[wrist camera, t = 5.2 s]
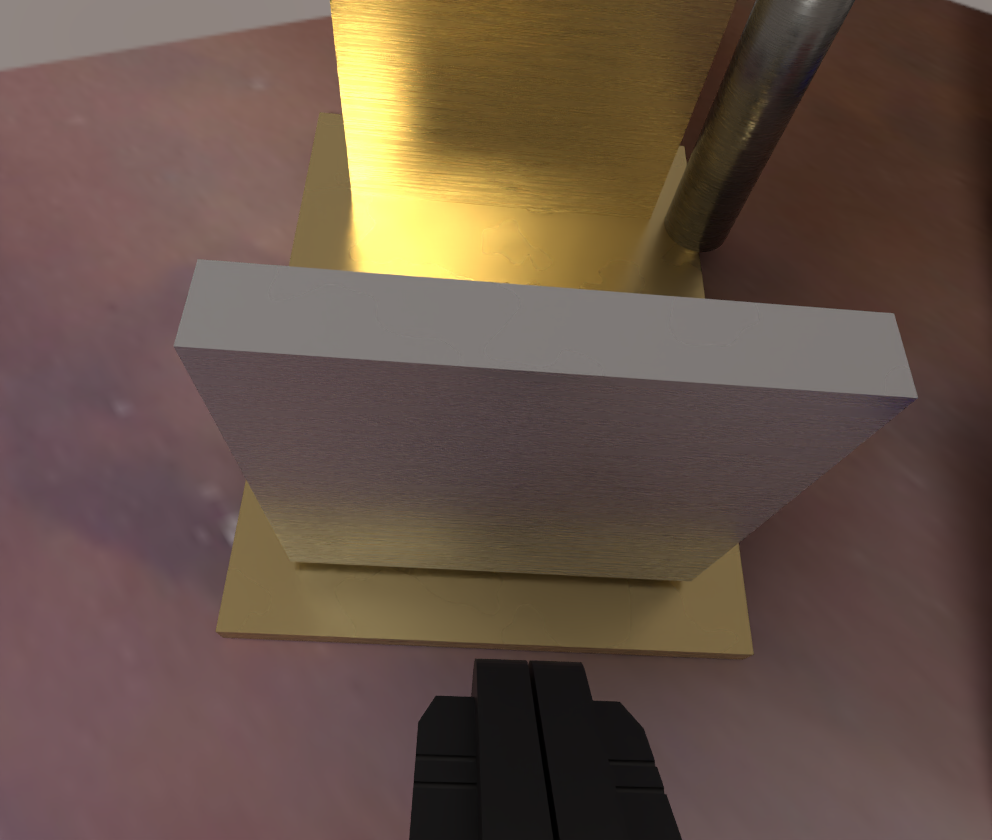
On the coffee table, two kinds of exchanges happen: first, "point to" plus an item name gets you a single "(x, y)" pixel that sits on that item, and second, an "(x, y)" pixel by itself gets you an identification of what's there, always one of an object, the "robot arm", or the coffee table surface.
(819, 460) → the panel
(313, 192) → the brass half
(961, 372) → the coffee table surface
